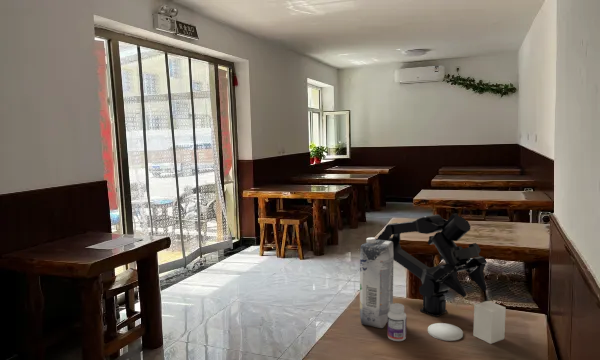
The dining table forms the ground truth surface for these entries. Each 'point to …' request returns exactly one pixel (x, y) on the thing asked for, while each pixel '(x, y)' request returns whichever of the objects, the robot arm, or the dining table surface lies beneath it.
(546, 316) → the dining table surface
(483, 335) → the cover
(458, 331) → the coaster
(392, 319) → the pill bottle
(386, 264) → the juice carton
